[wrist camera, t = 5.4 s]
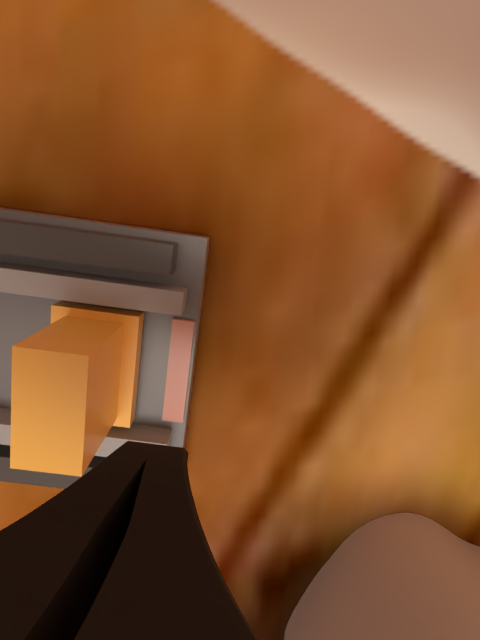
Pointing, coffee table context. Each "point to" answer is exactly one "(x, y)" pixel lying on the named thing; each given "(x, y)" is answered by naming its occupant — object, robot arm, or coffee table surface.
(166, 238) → the breaker panel
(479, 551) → the lumpy-topped squat cylinder
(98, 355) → the breaker lever
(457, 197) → the coffee table surface
